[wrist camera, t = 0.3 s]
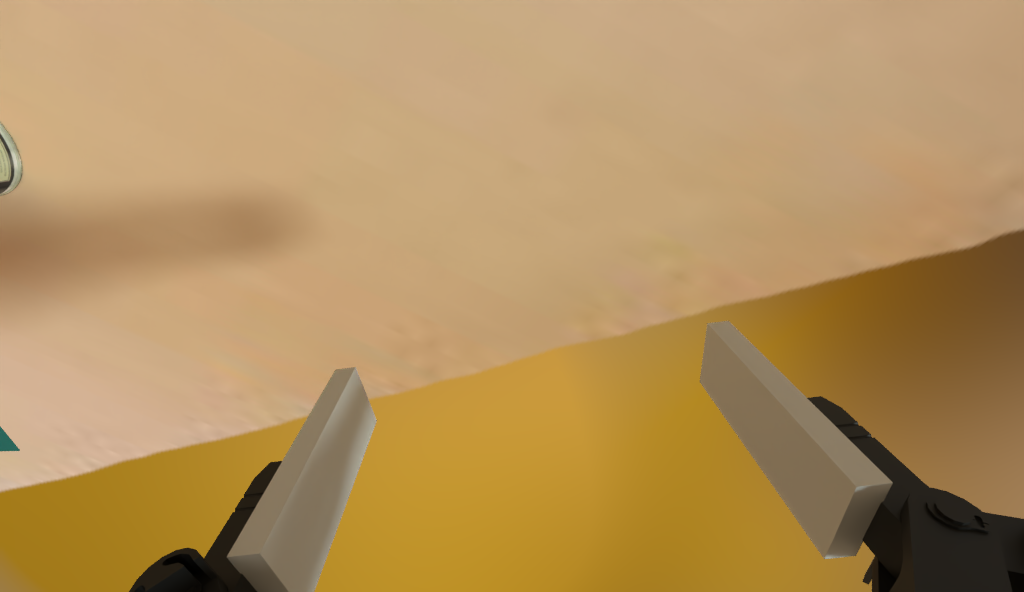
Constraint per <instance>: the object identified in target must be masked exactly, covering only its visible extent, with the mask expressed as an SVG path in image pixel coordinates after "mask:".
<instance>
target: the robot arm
mask: <svg viewBox="0 0 1024 592" xmlns="http://www.w3.org/2000/svg"><path fill="white" fill-rule="evenodd" d="M700 383H701V384H702V386H703V387H704V388H705V390H706V391H707V393H708V394H709V395H710V397H711V398H712V400H713V401H714V403H715V404H716V405H717V407H718V408H719V410H720V411H721V412H722V414H723V415H724V417H725V418H726V420H727V421H728V422H729V424H730V425H731V427H732V428H733V430H734V431H735V432H736V434H737V435H738V437H739V438H740V439H741V441H742V442H743V444H744V445H745V447H746V448H747V450H748V451H749V452H750V454H751V455H752V457H753V458H754V459H755V461H756V462H757V464H758V465H759V467H760V468H761V469H762V471H763V472H764V474H765V475H766V476H767V478H768V480H769V481H770V482H771V484H772V485H773V486H774V488H775V489H776V491H777V492H778V494H779V495H780V497H781V498H782V499H783V501H784V502H785V504H786V505H787V507H788V508H789V509H790V511H791V512H792V514H793V515H794V517H795V518H796V519H797V521H798V522H799V524H800V525H801V526H802V528H803V529H804V531H805V532H806V534H807V535H808V536H809V538H810V539H811V541H812V542H813V544H814V545H815V546H816V548H817V549H818V551H819V552H820V553H821V555H822V556H823V558H824V559H829V558H839V557H847V556H856V554H857V552H858V550H859V548H860V546H861V544H862V542H863V541H864V542H865V544H866V545H867V546H868V547H869V549H870V550H871V551H872V552H873V553H874V555H875V557H874V559H873V561H872V563H871V565H870V567H869V568H868V570H867V572H866V574H865V577H864V579H863V582H865V583H867V584H869V583H870V581H871V579H872V592H1024V519H1020V518H1014V517H1008V516H1002V515H996V514H990V513H985V512H982V511H981V510H979V509H978V508H977V507H975V506H973V505H972V504H971V503H969V502H968V501H966V500H964V499H963V498H960V497H958V496H956V495H953V494H951V493H949V492H947V491H943V490H938V489H935V488H929V487H928V486H927V485H926V484H924V483H923V482H922V481H921V480H920V479H919V478H918V477H917V476H915V474H914V473H912V472H911V471H910V470H909V469H908V468H907V467H906V466H905V465H904V464H902V463H901V462H900V461H899V460H898V459H897V458H896V457H895V456H894V455H893V454H892V453H890V452H889V451H888V450H887V449H886V448H885V447H884V446H883V445H882V444H881V443H880V442H878V441H877V440H876V439H875V438H872V437H871V434H870V433H869V432H868V431H866V430H865V429H864V428H863V427H862V426H859V425H858V422H857V421H855V420H854V419H853V418H852V417H851V416H850V415H849V414H848V413H847V412H846V411H844V410H843V409H842V408H841V407H839V406H837V405H836V404H834V403H832V402H830V401H828V400H827V399H825V398H823V397H821V396H820V397H813V398H806V397H805V396H804V395H803V394H802V393H801V392H800V391H799V390H798V389H797V388H796V387H795V386H794V385H793V384H792V383H791V382H790V381H789V380H788V379H787V378H786V377H785V376H784V375H783V374H782V373H781V372H780V371H779V370H778V369H777V368H776V367H775V366H774V365H773V364H772V363H771V362H770V361H769V360H768V359H767V358H766V357H765V356H763V354H762V353H761V352H760V351H759V350H758V349H757V348H756V347H755V346H754V345H752V344H751V343H750V342H749V341H748V340H747V339H746V338H745V337H744V336H743V335H742V334H741V333H740V332H739V331H738V330H737V329H736V328H735V327H734V326H733V325H732V324H731V323H730V322H729V321H724V322H715V323H708V324H707V331H706V338H705V347H704V353H703V361H702V369H701V376H700ZM376 421H377V420H376V418H375V415H374V413H373V410H372V407H371V405H370V402H369V400H368V397H367V395H366V392H365V390H364V387H363V385H362V382H361V380H360V377H359V375H358V372H357V370H356V367H353V368H345V369H337V370H335V371H334V373H333V375H332V377H331V378H330V380H329V382H328V384H327V385H326V387H325V389H324V390H323V392H322V394H321V396H320V397H319V399H318V401H317V402H316V404H315V406H314V408H313V409H312V411H311V413H310V414H309V416H308V418H307V420H306V421H305V423H304V425H303V427H302V429H301V430H300V432H299V433H298V435H297V437H296V439H295V440H294V442H293V444H292V445H291V447H290V449H289V451H288V452H287V454H286V456H285V457H284V459H283V461H278V462H271V463H269V464H268V465H267V466H266V467H265V468H264V469H263V470H262V471H261V472H260V473H259V474H258V475H257V476H256V477H255V478H254V480H253V481H252V483H251V485H250V486H249V488H248V489H247V491H246V492H245V494H244V498H242V499H241V500H240V502H239V504H238V505H237V507H236V508H235V512H233V513H232V515H231V516H230V518H229V520H228V521H227V523H226V524H225V526H224V527H223V529H222V531H221V532H220V534H219V535H218V537H217V539H216V540H215V542H214V543H213V545H212V547H211V548H210V550H209V551H208V553H207V555H206V556H205V558H203V557H202V556H201V555H200V554H199V553H198V551H197V550H195V549H191V548H184V549H180V550H176V551H174V552H172V553H170V554H168V555H166V556H164V557H162V558H161V559H160V560H158V561H157V562H155V563H154V564H153V565H151V566H150V567H149V568H148V569H147V570H146V571H145V572H144V573H143V574H142V575H141V576H140V577H139V578H138V579H137V581H136V582H135V584H134V585H133V587H132V588H131V590H130V591H129V592H314V591H315V588H316V585H317V582H318V580H319V577H320V574H321V571H322V569H323V566H324V563H325V561H326V558H327V555H328V552H329V550H330V547H331V544H332V541H333V539H334V536H335V533H336V530H337V528H338V525H339V522H340V520H341V517H342V514H343V511H344V509H345V506H346V503H347V500H348V498H349V495H350V492H351V489H352V487H353V484H354V481H355V479H356V476H357V473H358V470H359V468H360V465H361V462H362V459H363V457H364V454H365V451H366V448H367V446H368V443H369V440H370V437H371V434H372V432H373V429H374V427H375V424H376Z"/></svg>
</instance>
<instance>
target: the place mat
mask: <svg viewBox="0 0 1024 592" xmlns="http://www.w3.org/2000/svg"><path fill="white" fill-rule="evenodd" d="M0 451H20V450H19V449H18V447H17V446H16V445H15V444H14V443H13V441H12V440H11V439H10V438H9V437H8V435H7V434H6V433H5V432H4V430H3V429H2V428H1V427H0Z"/></svg>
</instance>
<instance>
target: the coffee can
mask: <svg viewBox="0 0 1024 592" xmlns="http://www.w3.org/2000/svg"><path fill="white" fill-rule="evenodd" d="M21 176H22V162H21V158H20V155H19V152H18V150H17V147H16V145H15V143H14V141H13V139H12V137H11V136H10V134H9V133H8V132H7V131H6V129H5V128H4V126H3V125H2V124H1V123H0V196H1V195H5V194H7V193H9V192H11V191H12V190H14V189H15V188H16V186H17V185H18V184H19V182H20V179H21Z"/></svg>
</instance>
